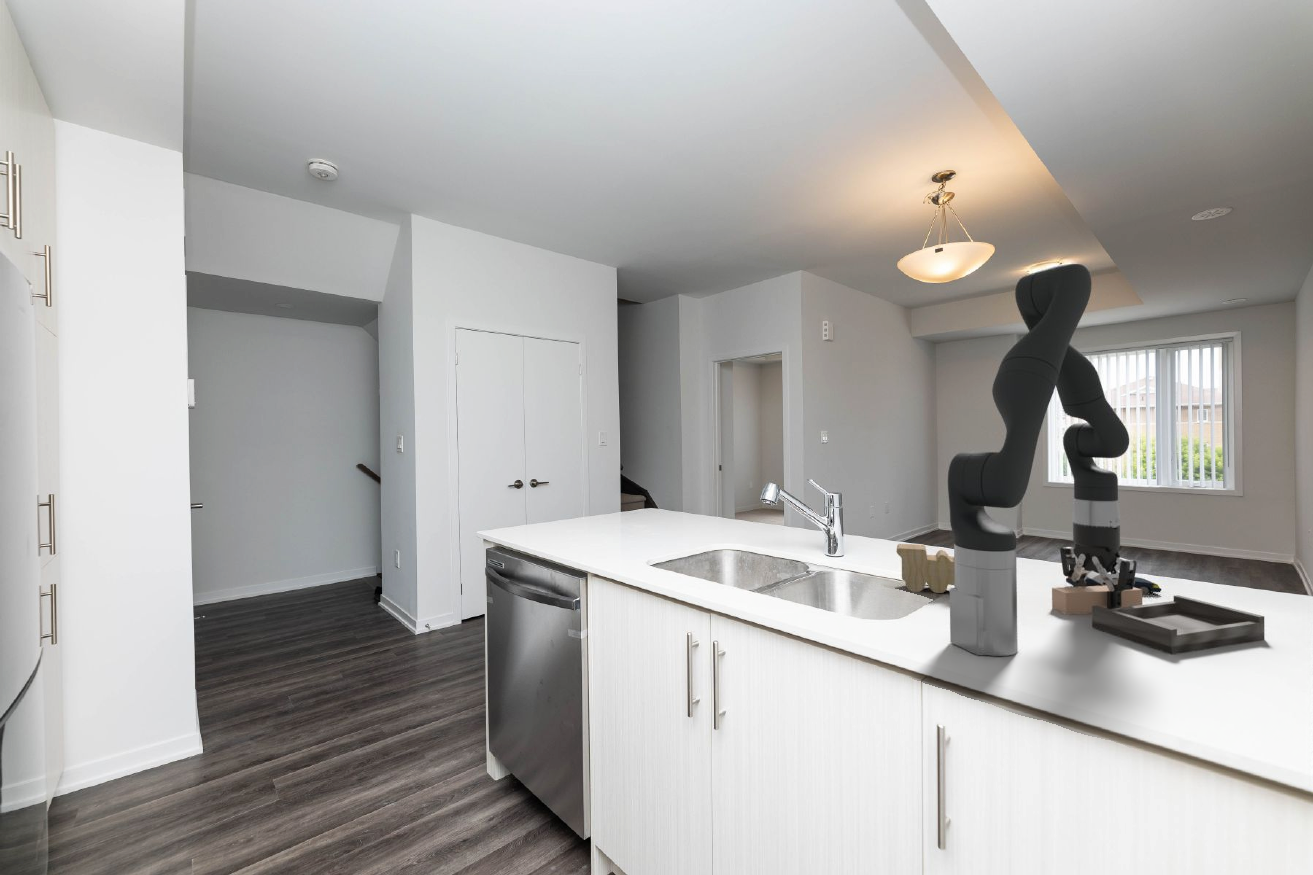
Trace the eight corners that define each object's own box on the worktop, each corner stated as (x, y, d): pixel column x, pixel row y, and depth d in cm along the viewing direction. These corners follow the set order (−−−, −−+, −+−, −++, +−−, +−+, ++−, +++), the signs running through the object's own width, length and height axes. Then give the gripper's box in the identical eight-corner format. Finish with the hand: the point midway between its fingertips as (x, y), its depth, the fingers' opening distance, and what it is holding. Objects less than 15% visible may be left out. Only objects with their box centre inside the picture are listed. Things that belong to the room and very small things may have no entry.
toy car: (1161, 596, 123) (1161, 573, 123) (1076, 593, 127) (1076, 570, 127) (1147, 590, 128) (1147, 568, 128) (1066, 587, 132) (1065, 565, 132)
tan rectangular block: (1065, 615, 112) (1065, 592, 112) (1052, 609, 116) (1051, 587, 116) (1142, 612, 113) (1142, 589, 113) (1126, 606, 117) (1126, 584, 117)
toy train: (981, 597, 124) (980, 552, 124) (896, 590, 131) (896, 547, 131) (978, 591, 129) (978, 547, 129) (897, 584, 136) (896, 542, 136)
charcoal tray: (1171, 654, 92) (1171, 629, 92) (1092, 627, 105) (1092, 605, 105) (1264, 639, 97) (1264, 616, 97) (1178, 615, 110) (1178, 595, 110)
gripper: (1048, 517, 120) (1049, 596, 121) (1118, 528, 106) (1119, 617, 107) (1076, 515, 122) (1077, 593, 122) (1148, 526, 108) (1149, 613, 109)
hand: (1096, 604), depth 115 cm, fingers open, 6 cm apart
